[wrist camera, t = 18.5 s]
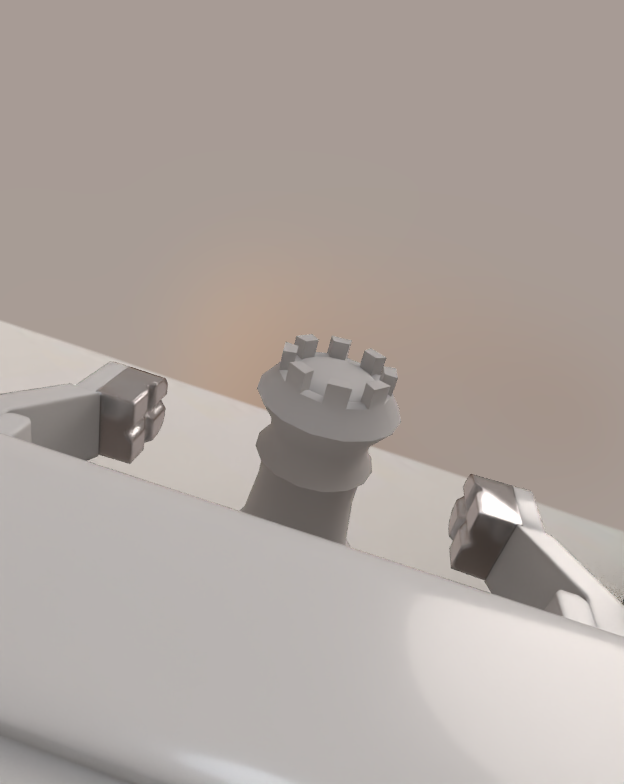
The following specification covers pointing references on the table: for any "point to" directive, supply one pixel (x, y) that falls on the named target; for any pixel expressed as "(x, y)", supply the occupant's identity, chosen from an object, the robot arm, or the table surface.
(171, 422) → the table surface
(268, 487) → the rook chess piece
